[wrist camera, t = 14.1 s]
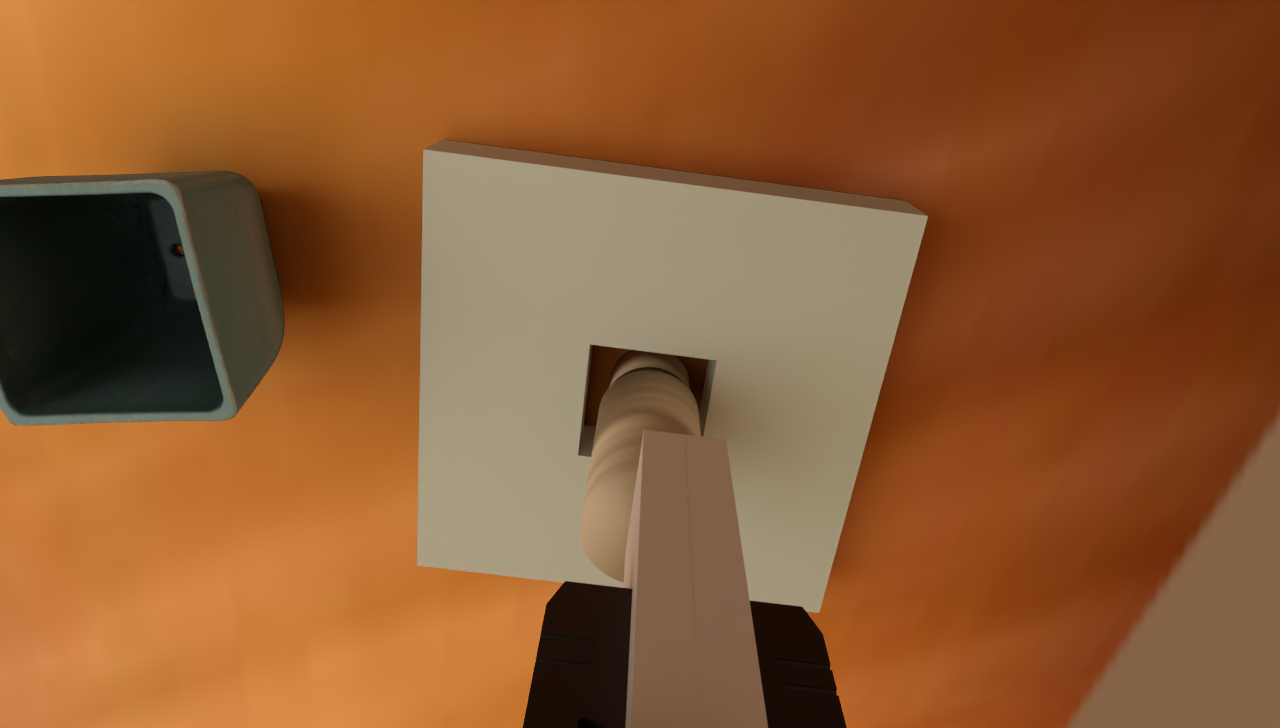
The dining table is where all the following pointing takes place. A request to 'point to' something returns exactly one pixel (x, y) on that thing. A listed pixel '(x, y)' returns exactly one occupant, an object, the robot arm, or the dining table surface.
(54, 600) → the dining table surface
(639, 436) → the peg
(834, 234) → the board
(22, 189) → the flower pot
